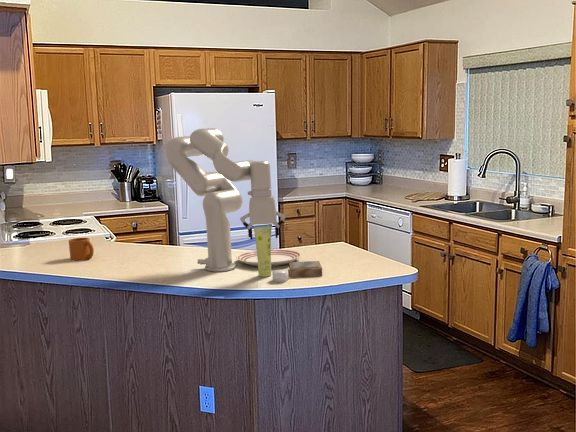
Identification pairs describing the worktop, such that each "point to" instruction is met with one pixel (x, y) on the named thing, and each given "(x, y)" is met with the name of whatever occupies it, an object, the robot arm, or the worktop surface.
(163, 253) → the worktop surface
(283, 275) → the white dome
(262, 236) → the tube
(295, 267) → the stand
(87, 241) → the mug
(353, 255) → the worktop surface
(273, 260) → the dinner plate
